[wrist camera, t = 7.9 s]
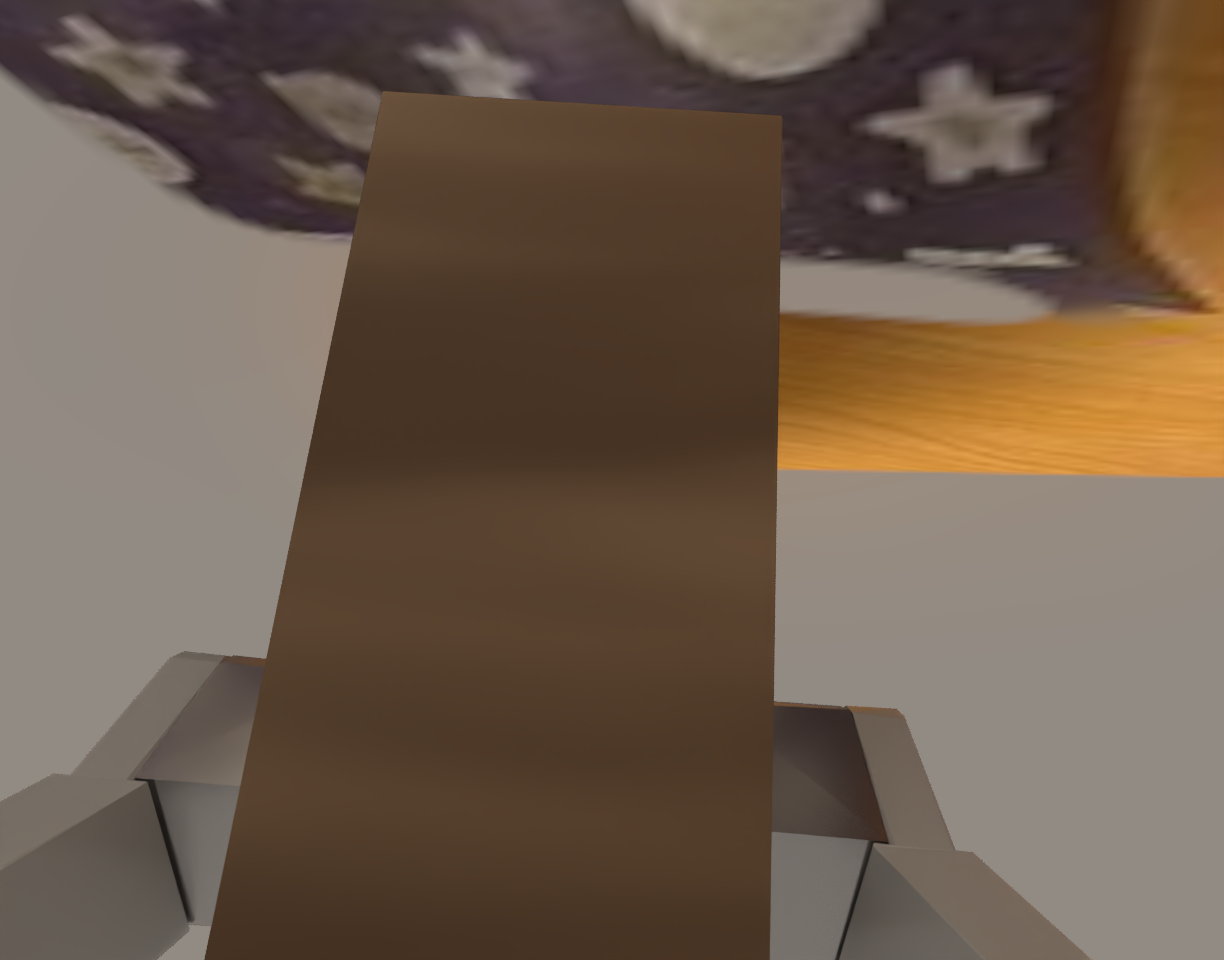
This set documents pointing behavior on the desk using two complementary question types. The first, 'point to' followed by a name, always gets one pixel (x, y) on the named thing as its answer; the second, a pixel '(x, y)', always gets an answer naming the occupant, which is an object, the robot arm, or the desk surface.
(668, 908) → the walnut block
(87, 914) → the robot arm
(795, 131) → the desk surface
